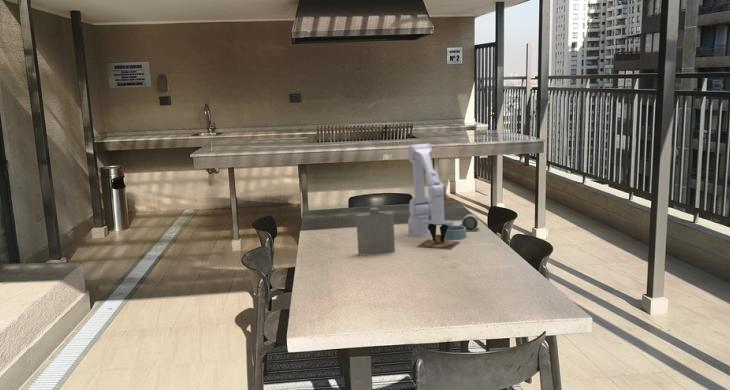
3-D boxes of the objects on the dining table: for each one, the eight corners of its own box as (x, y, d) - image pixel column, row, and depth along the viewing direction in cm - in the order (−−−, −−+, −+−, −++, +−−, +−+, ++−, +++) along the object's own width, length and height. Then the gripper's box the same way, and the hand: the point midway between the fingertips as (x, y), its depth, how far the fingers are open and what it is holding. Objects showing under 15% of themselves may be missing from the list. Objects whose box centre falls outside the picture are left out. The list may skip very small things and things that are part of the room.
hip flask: (358, 255, 257) (356, 210, 254) (358, 253, 261) (355, 208, 258) (395, 253, 258) (393, 207, 255) (394, 250, 262) (392, 205, 259)
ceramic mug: (478, 227, 296) (477, 212, 295) (478, 231, 288) (477, 215, 287) (456, 228, 298) (456, 213, 297) (455, 231, 291) (455, 216, 289)
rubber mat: (416, 247, 265) (416, 246, 265) (428, 240, 277) (427, 239, 277) (450, 250, 257) (450, 249, 257) (461, 242, 269) (461, 241, 269)
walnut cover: (419, 246, 264) (419, 238, 264) (430, 239, 276) (430, 231, 275) (447, 249, 258) (447, 240, 258) (457, 241, 270) (457, 233, 269)
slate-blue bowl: (439, 239, 277) (438, 230, 276) (447, 234, 286) (447, 224, 286) (461, 241, 272) (461, 231, 271) (469, 235, 281) (469, 226, 280)
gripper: (418, 212, 264) (420, 242, 267) (450, 213, 258) (450, 244, 260) (425, 209, 270) (426, 238, 273) (455, 210, 264) (456, 240, 266)
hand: (438, 241), depth 267 cm, fingers closed on walnut cover, 3 cm apart
